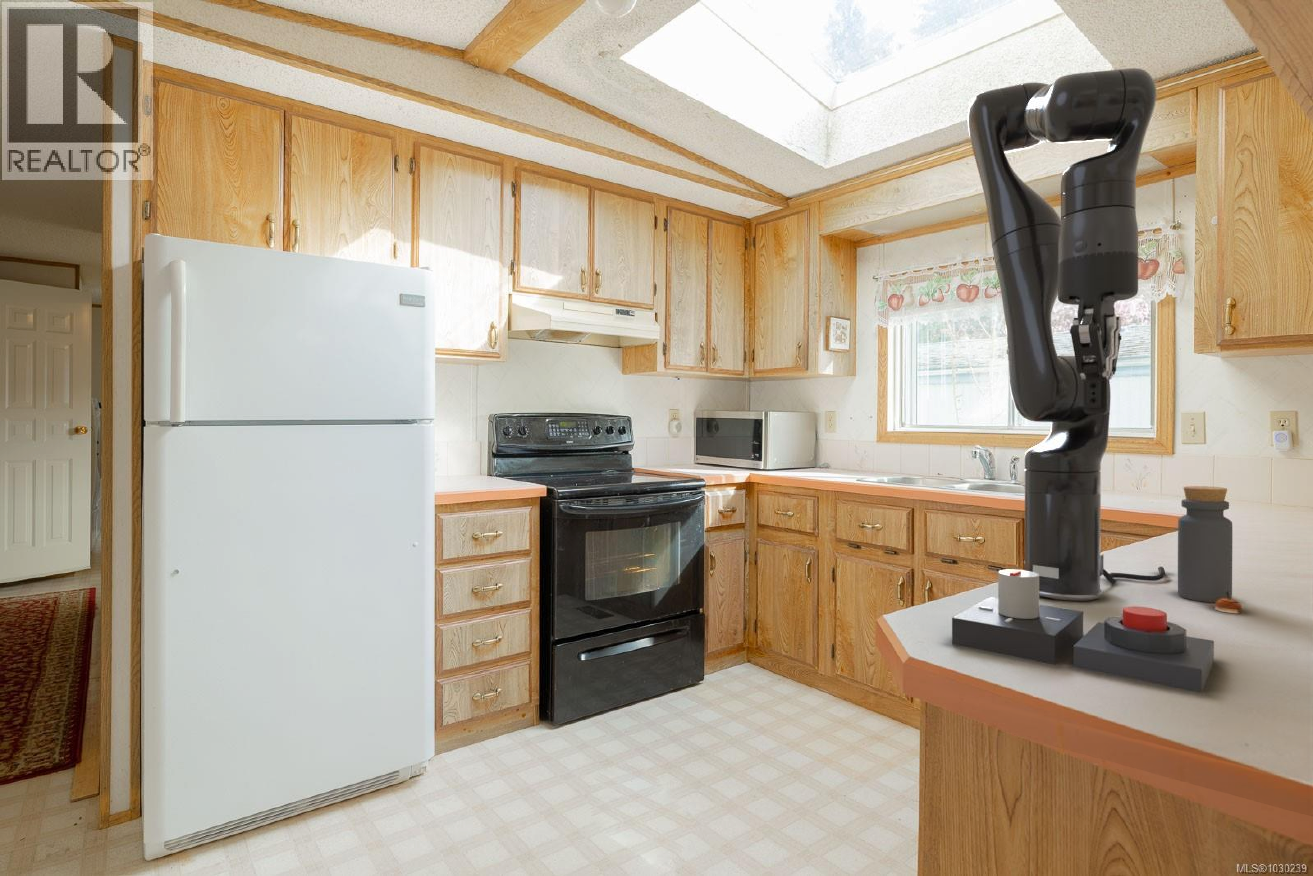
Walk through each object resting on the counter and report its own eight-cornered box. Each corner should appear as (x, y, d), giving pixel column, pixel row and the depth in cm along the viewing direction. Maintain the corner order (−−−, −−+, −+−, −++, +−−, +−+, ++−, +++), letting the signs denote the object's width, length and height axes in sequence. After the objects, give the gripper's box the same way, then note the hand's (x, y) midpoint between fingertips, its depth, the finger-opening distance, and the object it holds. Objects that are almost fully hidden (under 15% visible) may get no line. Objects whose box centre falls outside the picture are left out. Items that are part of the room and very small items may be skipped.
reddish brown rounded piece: (1208, 608, 91) (1208, 587, 90) (1226, 606, 91) (1226, 586, 91) (1231, 614, 88) (1231, 592, 88) (1250, 612, 88) (1250, 591, 88)
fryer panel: (988, 621, 85) (988, 595, 85) (1083, 638, 79) (1083, 609, 79) (951, 645, 77) (951, 616, 77) (1054, 666, 70) (1054, 634, 70)
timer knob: (1005, 607, 80) (1005, 565, 80) (1044, 613, 78) (1044, 570, 77) (992, 614, 78) (992, 570, 77) (1032, 621, 75) (1032, 576, 75)
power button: (1126, 621, 72) (1126, 604, 72) (1169, 628, 70) (1169, 610, 70) (1119, 629, 70) (1119, 611, 70) (1163, 636, 67) (1163, 618, 67)
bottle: (1242, 603, 92) (1242, 489, 92) (1191, 602, 94) (1192, 489, 93) (1216, 593, 98) (1217, 485, 98) (1169, 591, 99) (1169, 485, 99)
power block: (1097, 641, 77) (1098, 605, 77) (1213, 662, 70) (1214, 622, 70) (1073, 668, 69) (1073, 627, 69) (1201, 694, 62) (1201, 649, 62)
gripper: (1125, 239, 70) (1125, 413, 71) (1148, 261, 80) (1147, 413, 80) (1042, 252, 75) (1042, 414, 76) (1073, 271, 85) (1072, 414, 86)
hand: (1096, 413), depth 78 cm, fingers closed
